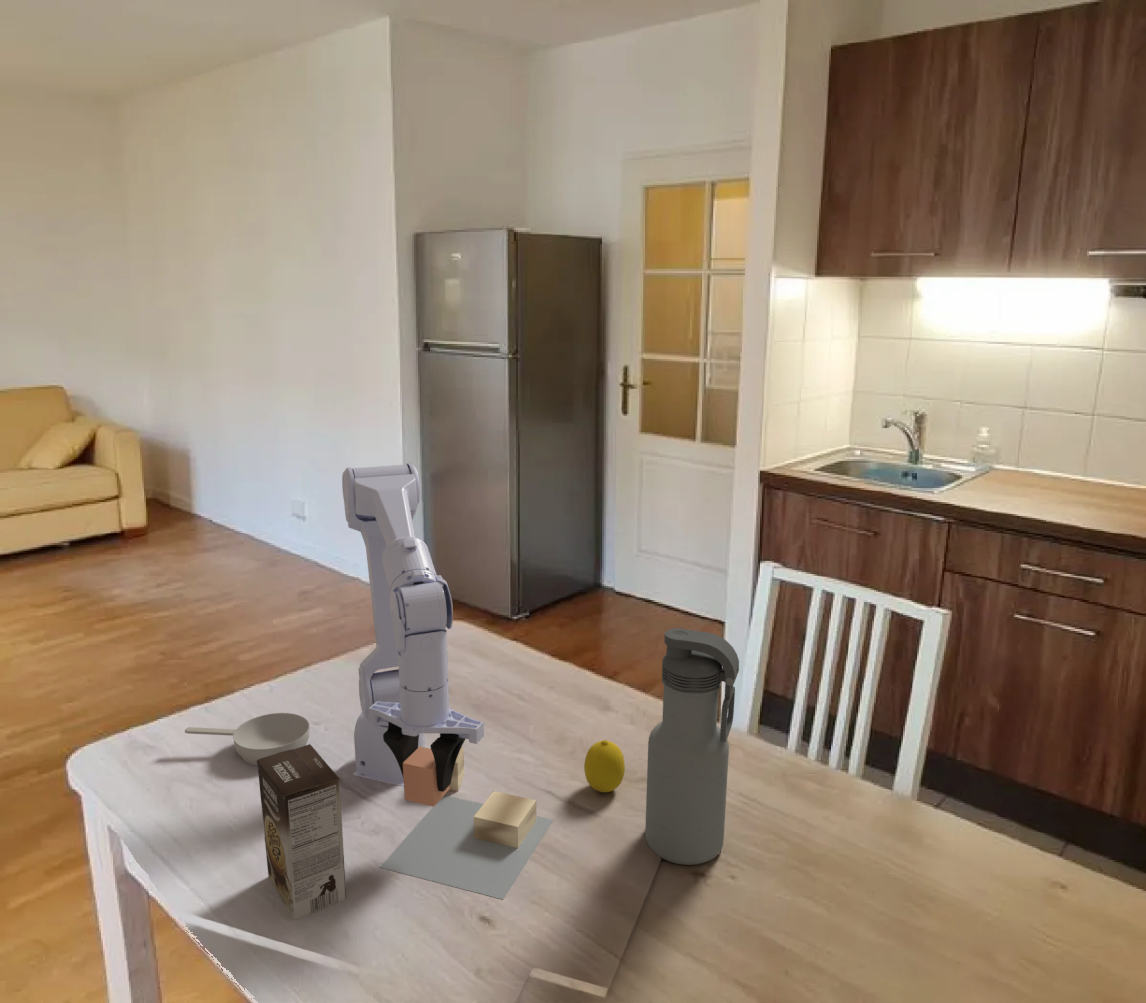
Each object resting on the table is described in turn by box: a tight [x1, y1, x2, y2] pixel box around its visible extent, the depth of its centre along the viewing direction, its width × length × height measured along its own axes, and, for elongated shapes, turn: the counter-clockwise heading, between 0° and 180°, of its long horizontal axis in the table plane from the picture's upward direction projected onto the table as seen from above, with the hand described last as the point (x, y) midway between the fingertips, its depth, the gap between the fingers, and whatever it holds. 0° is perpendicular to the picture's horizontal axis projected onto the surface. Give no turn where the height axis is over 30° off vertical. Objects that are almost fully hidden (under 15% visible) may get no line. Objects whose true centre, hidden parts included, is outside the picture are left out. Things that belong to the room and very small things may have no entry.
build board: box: [379, 794, 554, 900], centre depth 109 cm, size 16×16×1 cm
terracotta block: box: [403, 747, 450, 807], centre depth 107 cm, size 4×4×5 cm
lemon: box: [583, 739, 626, 793], centre depth 120 cm, size 6×6×8 cm
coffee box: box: [256, 743, 347, 921], centre depth 99 cm, size 9×6×16 cm
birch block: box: [447, 746, 465, 792], centre depth 122 cm, size 4×4×5 cm
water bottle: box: [644, 627, 740, 866], centre depth 107 cm, size 10×10×28 cm
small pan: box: [184, 712, 310, 767], centre depth 130 cm, size 11×18×4 cm, turn 92°
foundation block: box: [474, 790, 537, 848], centre depth 111 cm, size 6×6×3 cm
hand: (427, 783), depth 107 cm, fingers closed on terracotta block, 4 cm apart
